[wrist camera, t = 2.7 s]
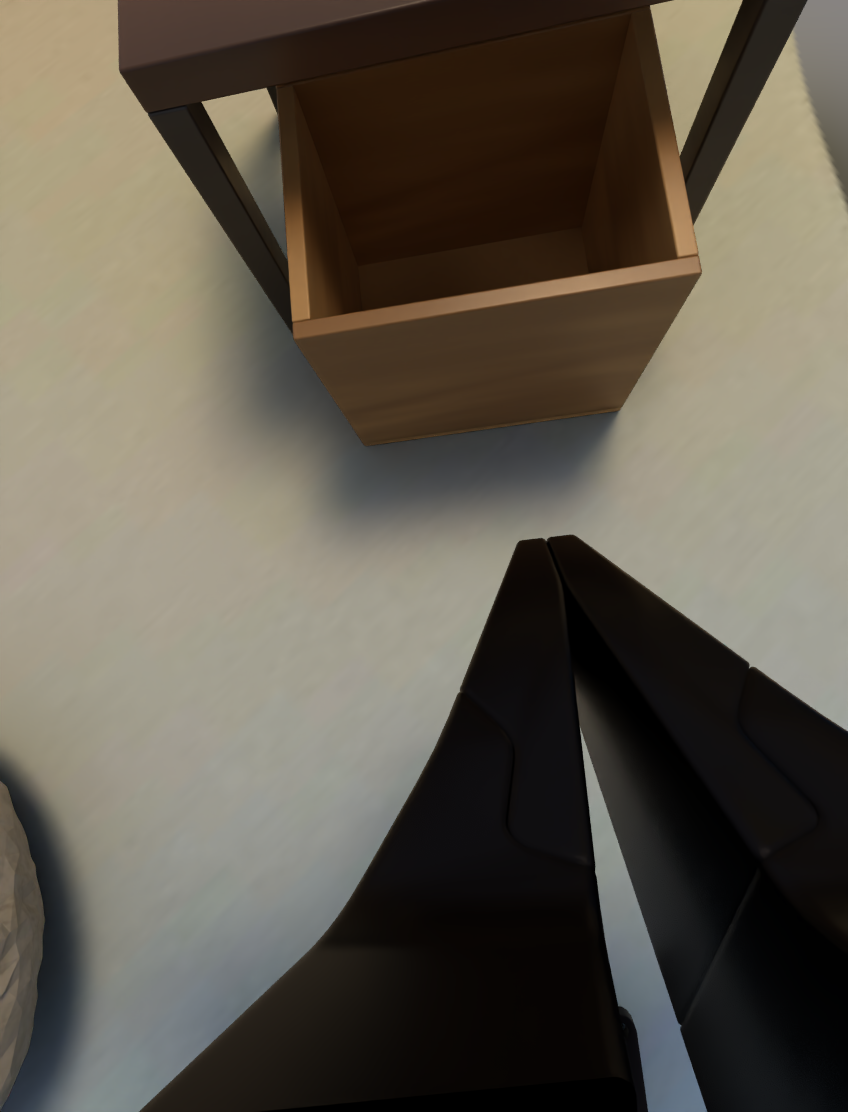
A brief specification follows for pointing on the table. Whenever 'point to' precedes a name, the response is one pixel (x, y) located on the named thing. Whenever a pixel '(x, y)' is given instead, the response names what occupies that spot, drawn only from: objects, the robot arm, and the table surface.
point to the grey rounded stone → (17, 944)
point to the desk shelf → (366, 39)
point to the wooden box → (486, 228)
